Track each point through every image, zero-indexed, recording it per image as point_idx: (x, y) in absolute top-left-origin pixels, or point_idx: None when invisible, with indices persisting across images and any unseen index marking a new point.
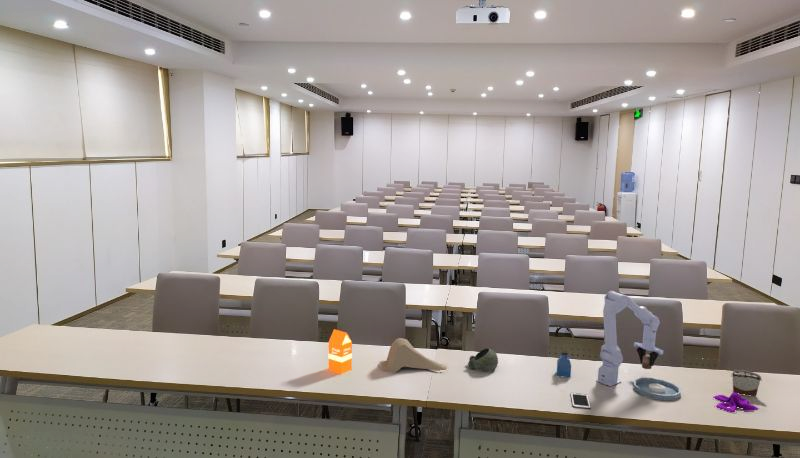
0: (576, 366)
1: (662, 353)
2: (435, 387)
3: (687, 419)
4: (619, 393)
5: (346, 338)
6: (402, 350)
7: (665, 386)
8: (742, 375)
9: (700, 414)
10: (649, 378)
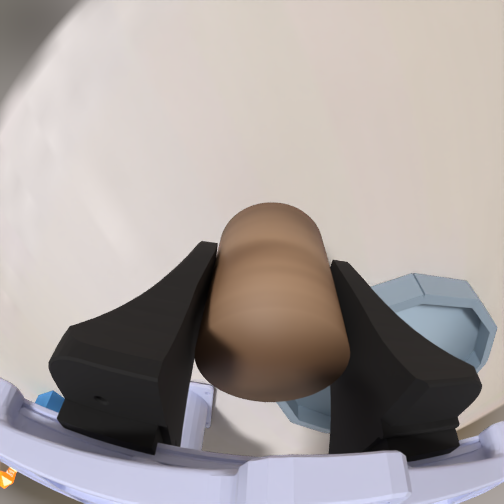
0: (3, 332)
1: (502, 442)
2: None
3: (460, 424)
4: (265, 438)
5: (4, 481)
6: (5, 465)
7: (431, 305)
8: None
9: (499, 390)
10: None
